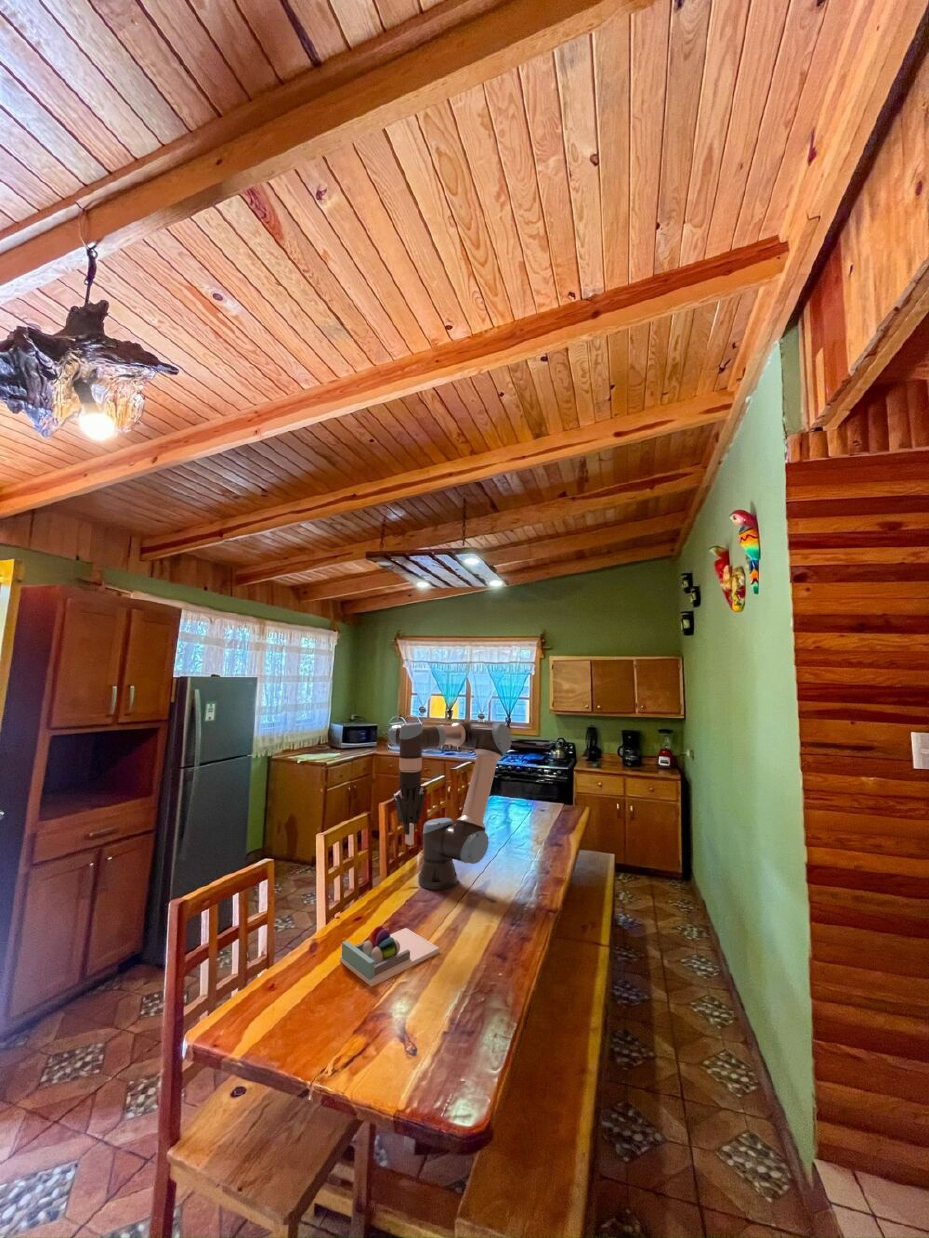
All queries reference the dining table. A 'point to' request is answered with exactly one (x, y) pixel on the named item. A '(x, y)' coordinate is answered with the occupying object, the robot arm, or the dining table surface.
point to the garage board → (408, 956)
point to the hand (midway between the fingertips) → (409, 843)
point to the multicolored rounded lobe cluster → (381, 945)
